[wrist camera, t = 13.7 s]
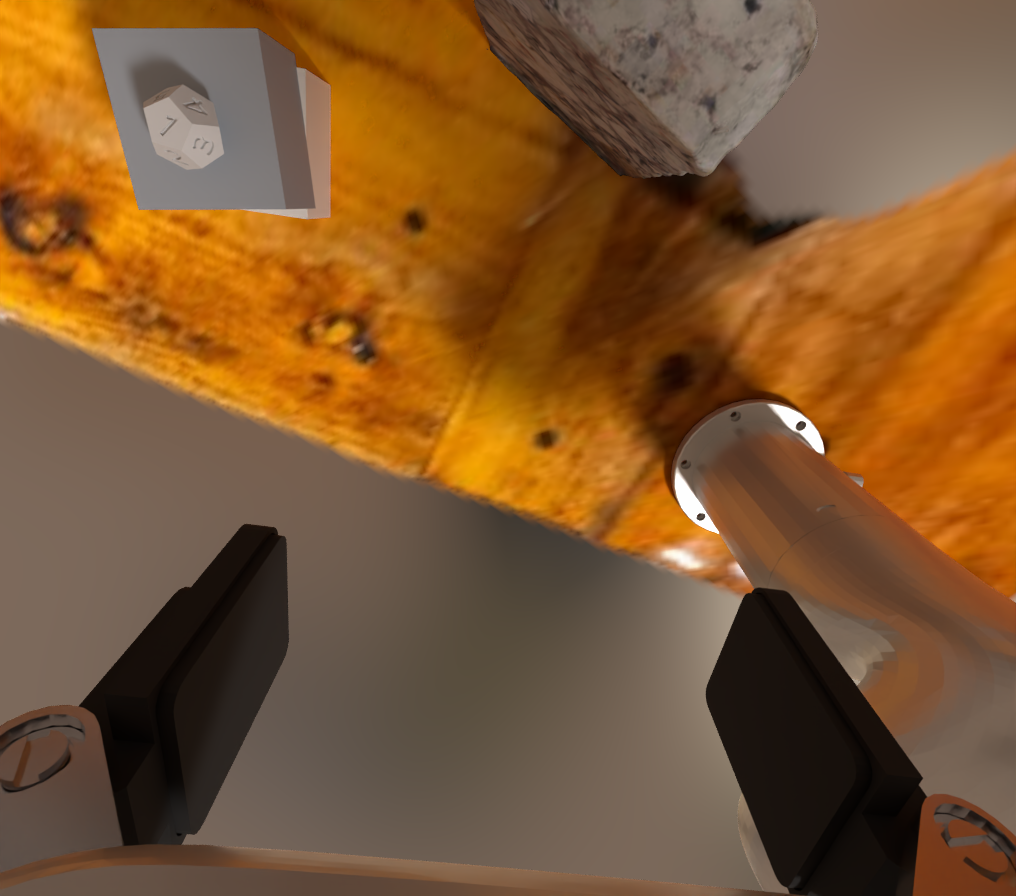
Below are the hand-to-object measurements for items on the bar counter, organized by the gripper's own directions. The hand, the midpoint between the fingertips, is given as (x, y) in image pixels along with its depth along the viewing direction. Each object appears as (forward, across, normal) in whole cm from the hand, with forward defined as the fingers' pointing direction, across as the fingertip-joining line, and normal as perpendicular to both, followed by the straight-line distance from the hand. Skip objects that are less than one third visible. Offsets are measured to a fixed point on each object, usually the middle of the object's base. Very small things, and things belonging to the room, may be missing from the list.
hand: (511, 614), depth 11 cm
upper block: (+28, +18, -9) cm, 35 cm away
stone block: (+34, -2, -15) cm, 37 cm away
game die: (+24, +17, -8) cm, 31 cm away
